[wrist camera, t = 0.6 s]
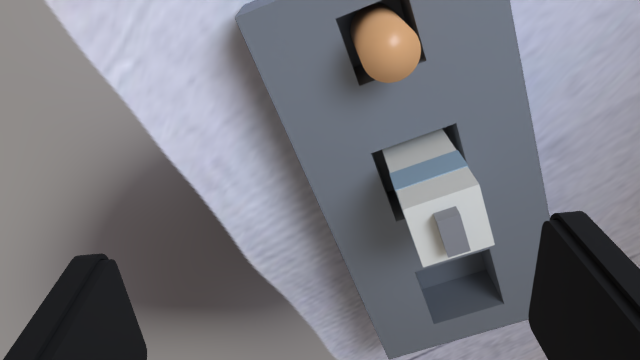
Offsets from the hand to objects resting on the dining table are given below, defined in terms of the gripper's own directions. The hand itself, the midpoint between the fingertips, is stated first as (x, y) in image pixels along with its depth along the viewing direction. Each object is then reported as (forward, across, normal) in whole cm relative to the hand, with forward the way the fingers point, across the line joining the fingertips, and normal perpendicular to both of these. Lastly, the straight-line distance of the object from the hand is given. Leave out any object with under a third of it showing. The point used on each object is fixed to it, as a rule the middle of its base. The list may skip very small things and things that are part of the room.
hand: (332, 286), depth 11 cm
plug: (+23, -6, +8) cm, 25 cm away
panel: (+23, -7, +8) cm, 25 cm away
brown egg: (+22, -4, -1) cm, 22 cm away
